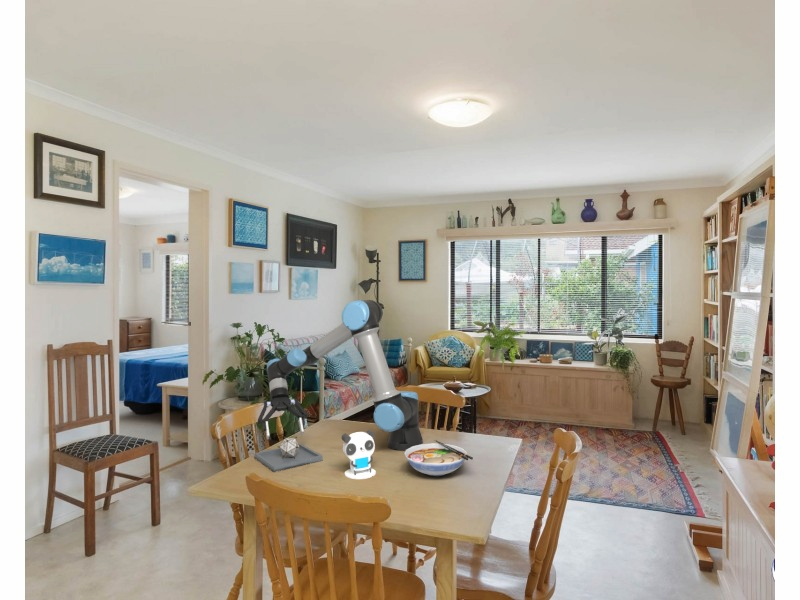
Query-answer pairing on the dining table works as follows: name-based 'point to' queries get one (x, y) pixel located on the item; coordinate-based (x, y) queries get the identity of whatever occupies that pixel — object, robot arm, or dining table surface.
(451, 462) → the ramen bowl
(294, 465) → the tray
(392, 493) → the dining table surface
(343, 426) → the dining table surface
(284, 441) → the game die
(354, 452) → the panda figurine
